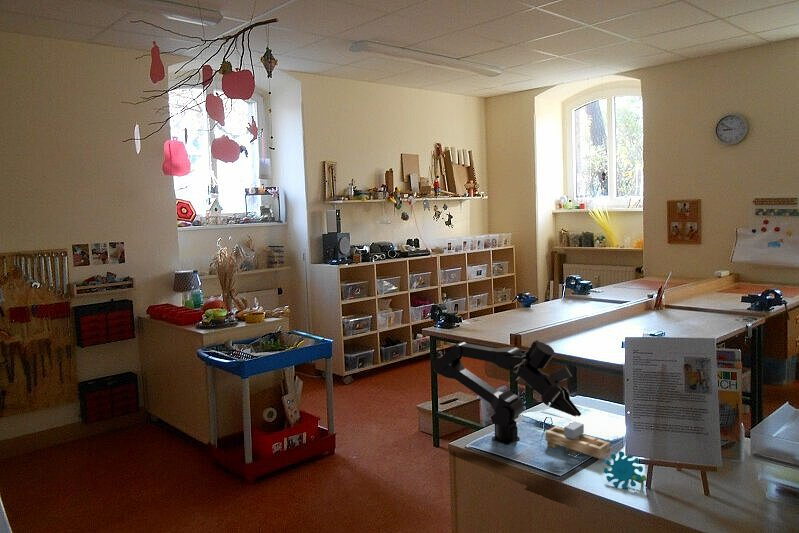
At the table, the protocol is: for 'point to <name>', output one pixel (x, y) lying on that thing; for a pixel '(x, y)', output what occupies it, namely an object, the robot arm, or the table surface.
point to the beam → (577, 443)
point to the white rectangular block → (574, 430)
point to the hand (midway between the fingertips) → (578, 415)
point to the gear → (624, 471)
